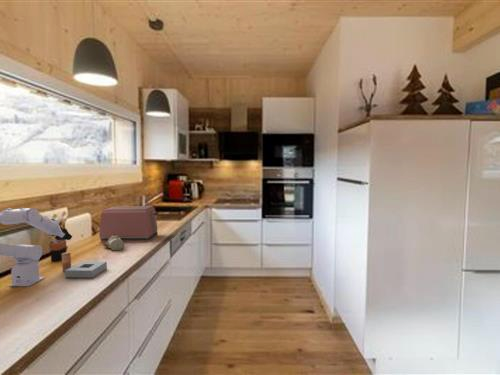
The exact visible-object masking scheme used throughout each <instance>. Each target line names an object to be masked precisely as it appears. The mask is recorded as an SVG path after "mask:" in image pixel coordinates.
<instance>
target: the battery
mask: <svg viewBox="0 0 500 375" xmlns="http://www.w3.org/2000/svg"><path fill="white" fill-rule="evenodd" d="M49 245H50V246H49V248H50V251H49V252H50V260H51V262H60V261H62V253H65V252H67V240H55V241H53V242H52V243H50V244H49Z"/></svg>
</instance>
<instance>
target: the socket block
mask: <svg viewBox="0 0 500 375" xmlns="http://www.w3.org/2000/svg"><path fill="white" fill-rule="evenodd" d="M107 269H108V266H107V261H80V262H78V263H76V264H74V265H71V267H70V268H68V269H67V270H65V272H64V278H65V279H85V280H86V279H88V280H89V279H94V278H96V277H97V276H100V274H102V273H103V272H105V271H106V270H107Z"/></svg>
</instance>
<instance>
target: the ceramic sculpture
mask: <svg viewBox="0 0 500 375" xmlns="http://www.w3.org/2000/svg"><path fill="white" fill-rule="evenodd" d="M124 244H125V242H123V241H122V240H121V239H120V238H119V237H118V236H117V235H116V234H114V235H113V236H111V237H110V238H109V239H108V243H102V245H103V247H105V248H110V249H111V250H113V251H120V250H122V249H123V247H124Z"/></svg>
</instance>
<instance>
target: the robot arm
mask: <svg viewBox="0 0 500 375" xmlns="http://www.w3.org/2000/svg"><path fill="white" fill-rule="evenodd" d="M21 223H25V224H28V225H30V226H32V227H34V228H36V229H38V230H41V231H43V232H44V233H46V234H47V235H53V236H55V239H56V241H58V240H61V241H71V239H72V238H73V235H71V233H69V231H68V229H67V228H65V227H64V228H63V227H61V226H60V220H59V219H54V218H52V219H51V218H49V217H47V216H45V215H43V214H42V213H40V212H39V210H38V209H37V208H27V207H26V208H24V207H18V208H15V209H14V208H11V207H7V208H6V209H3V210H1V211H0V224H1V225H4V226H7V225H14V224H15V225H16V224H21ZM42 255H43V248H42V246H41V245H39V244H22V243H20V244H10V243H3V242H0V256H4V257H5V256H6V257H12V259H15V262H16V264H15V265H14V266H13V267H11V269H10V274H11V284H10V285H9V286H10V287H30V286H32V285H34V284H36V283H38V282H40V281H42V280H43V279H45V278H46V277H45V276H40V263H39V260H40V258H41V257H42Z"/></svg>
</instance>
